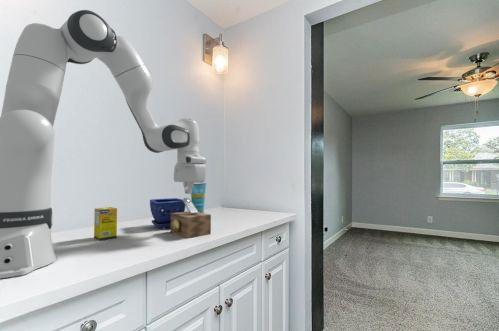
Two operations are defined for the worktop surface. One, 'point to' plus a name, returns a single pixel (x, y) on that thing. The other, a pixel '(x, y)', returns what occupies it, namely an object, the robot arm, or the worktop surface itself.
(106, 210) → the supplement box
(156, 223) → the flower pot
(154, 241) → the worktop surface
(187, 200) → the keeper
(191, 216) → the block
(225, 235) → the worktop surface
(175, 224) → the pin
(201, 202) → the tube
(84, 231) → the worktop surface
